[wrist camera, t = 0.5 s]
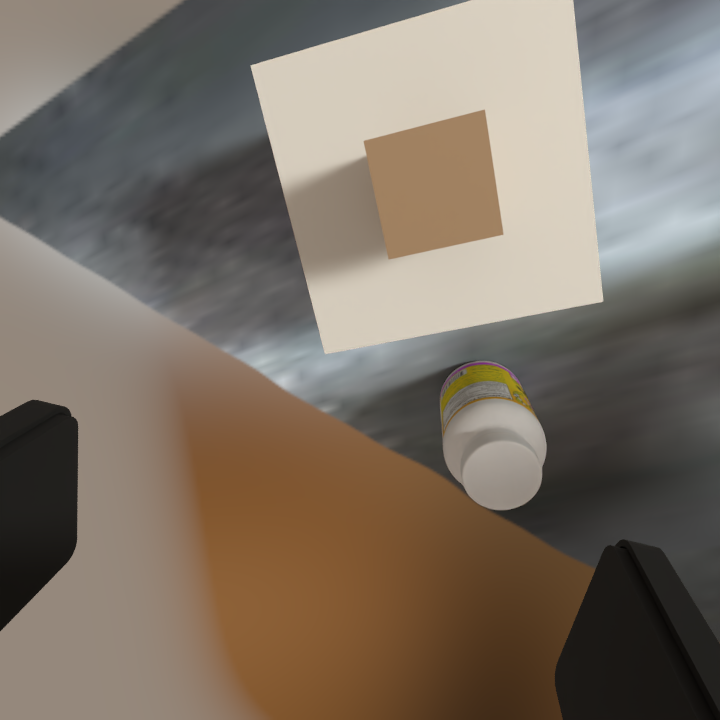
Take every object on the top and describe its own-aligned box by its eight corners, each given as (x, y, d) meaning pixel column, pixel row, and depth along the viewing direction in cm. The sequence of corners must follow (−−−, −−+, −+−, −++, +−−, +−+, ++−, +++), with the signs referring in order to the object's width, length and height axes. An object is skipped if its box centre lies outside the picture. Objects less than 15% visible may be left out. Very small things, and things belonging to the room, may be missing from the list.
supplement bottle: (522, 432, 44) (559, 525, 32) (441, 434, 45) (447, 527, 33) (522, 354, 42) (561, 423, 30) (437, 359, 43) (442, 428, 31)
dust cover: (508, 60, 36) (624, -109, 15) (535, 256, 40) (656, 337, 19) (319, 111, 38) (193, 27, 17) (361, 292, 42) (298, 400, 21)
